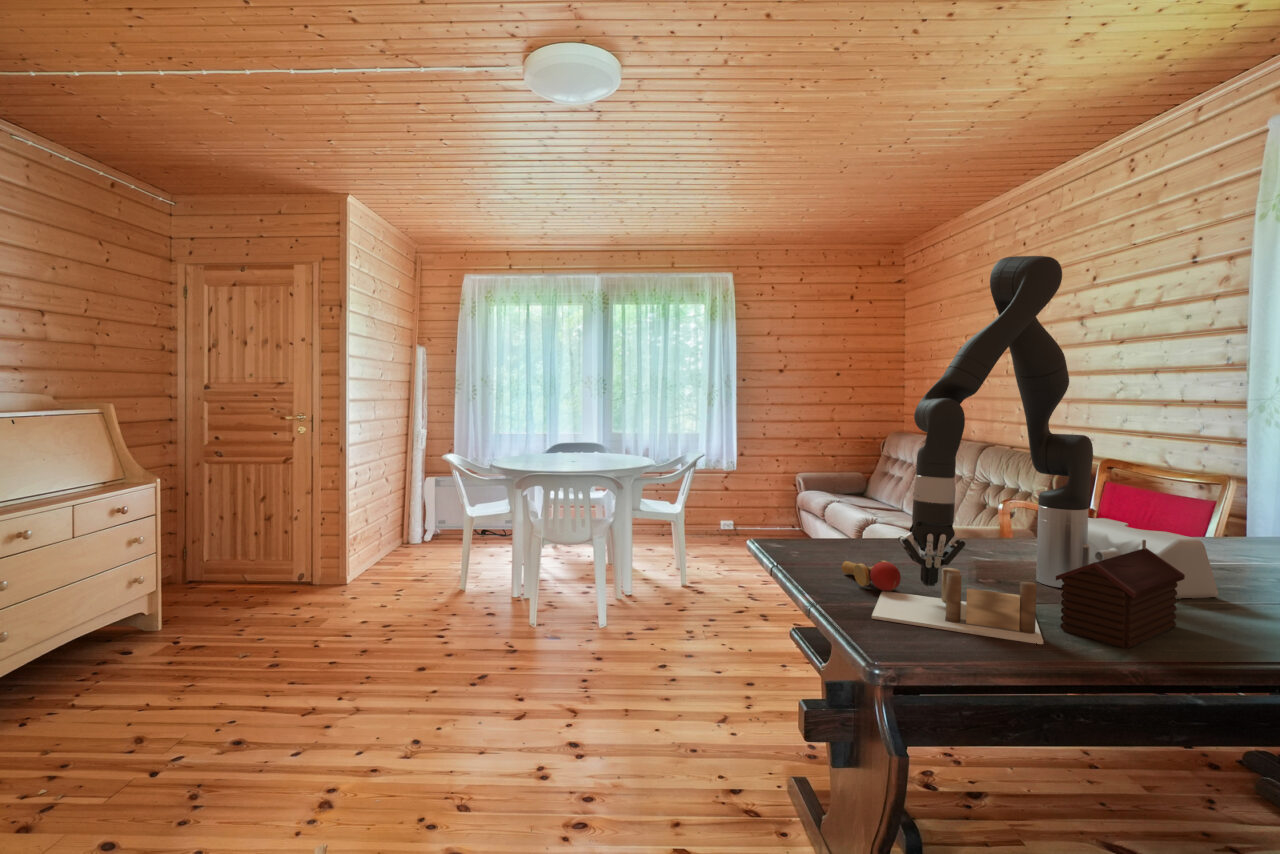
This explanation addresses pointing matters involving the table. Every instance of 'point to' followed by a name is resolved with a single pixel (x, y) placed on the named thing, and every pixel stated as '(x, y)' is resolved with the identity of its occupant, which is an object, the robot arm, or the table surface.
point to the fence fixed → (993, 606)
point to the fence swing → (944, 580)
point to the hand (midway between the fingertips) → (928, 585)
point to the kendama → (874, 574)
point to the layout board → (939, 616)
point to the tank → (1172, 548)
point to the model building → (1120, 598)
